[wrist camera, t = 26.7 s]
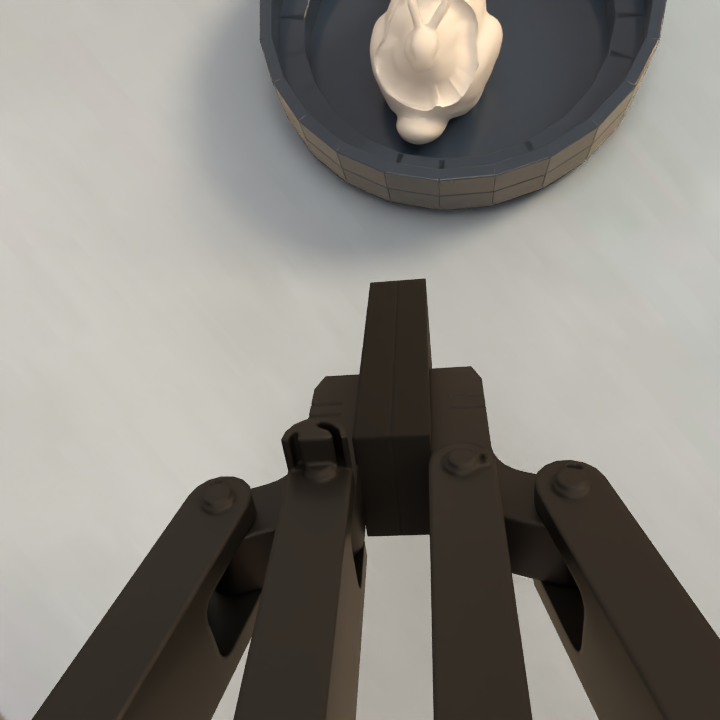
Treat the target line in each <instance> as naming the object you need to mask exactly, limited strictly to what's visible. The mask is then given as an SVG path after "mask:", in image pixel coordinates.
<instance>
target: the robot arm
mask: <svg viewBox="0 0 720 720" xmlns="http://www.w3.org/2000/svg"><path fill="white" fill-rule="evenodd" d="M281 441H282V446H283V450H284V454H285V459H286V463H287V467H288V474H287V475H286V476H285V477H283V478H281V479H279V480H278V481H275V482H272V483H269V484H266V485H263V486H259V487H256V488H252V489H250V486H249V485H248V484H247V483H246V482H245V481H244V480H242V479H239V478H236V477H218V478H215V479H211V480H208V481H206V482H205V483H203V484H201V485H199V486H198V487H197V488H196V489H195V490H194V491H193V492H192V493H191V494H190V495H189V496H188V498H187V499H186V500H185V502H184V503H183V505H182V506H181V508H180V509H179V510H178V512H177V513H176V515H175V516H174V517H173V519H172V520H171V522H170V523H169V525H168V526H167V527H166V529H165V530H164V532H163V533H162V535H161V536H160V537H159V539H158V540H157V542H156V543H155V545H154V546H153V547H152V549H151V550H150V552H149V553H148V555H147V556H146V557H145V559H144V560H143V562H142V563H141V565H140V566H139V567H138V569H137V570H136V572H135V573H134V575H133V576H132V577H131V579H130V580H129V582H128V583H127V585H126V586H125V587H124V589H123V590H122V592H121V593H120V595H119V596H118V597H117V599H116V600H115V602H114V603H113V604H112V606H111V607H110V609H109V610H108V612H107V613H106V614H105V616H104V617H103V619H102V620H101V622H100V623H99V624H98V626H97V627H96V629H95V630H94V632H93V633H92V634H91V636H90V637H89V639H88V640H87V642H86V643H85V644H84V646H83V647H82V649H81V650H80V652H79V653H78V654H77V656H76V657H75V659H74V660H73V662H72V663H71V664H70V666H69V667H68V669H67V670H66V672H65V673H64V674H63V676H62V677H61V679H60V680H59V682H58V683H57V684H56V686H55V687H54V689H53V690H52V691H51V693H50V694H49V696H48V697H47V699H46V700H45V701H44V703H43V704H42V706H41V707H40V709H39V710H38V711H37V713H36V714H35V716H34V717H33V719H32V720H211V719H212V717H213V715H214V713H215V711H216V708H217V706H218V704H219V702H220V700H221V698H222V696H223V694H224V692H225V690H226V688H227V686H228V684H229V682H230V680H231V678H232V676H233V674H234V672H235V670H236V667H237V665H238V663H239V661H240V659H241V657H242V655H243V653H244V651H245V649H246V647H247V645H248V643H249V641H250V639H251V643H250V647H249V652H248V656H247V661H246V665H245V670H244V674H243V679H242V683H241V688H240V692H239V697H238V701H237V706H236V710H235V715H234V719H233V720H356V707H357V692H358V678H359V664H360V650H361V636H362V622H363V608H364V593H365V579H366V565H367V553H366V547H365V541H364V538H365V526H366V529H367V535H368V536H398V535H430V558H431V608H432V658H433V707H434V720H532V713H531V706H530V699H529V692H528V685H527V678H526V671H525V664H524V656H523V649H522V642H521V635H520V628H519V621H518V614H517V607H516V600H515V593H514V586H513V579H512V573H513V574H517V575H521V576H525V577H529V578H533V581H534V585H535V587H536V589H537V591H538V593H539V596H540V598H541V600H542V602H543V604H544V606H545V608H546V610H547V612H548V614H549V616H550V618H551V621H552V623H553V625H554V627H555V629H556V631H557V633H558V635H559V637H560V639H561V641H562V643H563V646H564V648H565V650H566V652H567V654H568V656H569V658H570V660H571V662H572V664H573V666H574V669H575V671H576V673H577V675H578V677H579V679H580V681H581V683H582V685H583V687H584V689H585V691H586V694H587V696H588V698H589V700H590V702H591V704H592V706H593V708H594V710H595V712H596V714H597V717H598V719H599V720H720V639H719V637H718V636H717V635H716V633H715V632H714V630H713V629H712V628H711V626H710V625H709V623H708V622H707V620H706V619H705V618H704V616H703V615H702V613H701V612H700V611H699V609H698V608H697V606H696V605H695V603H694V602H693V601H692V599H691V598H690V596H689V595H688V593H687V592H686V591H685V589H684V588H683V586H682V585H681V584H680V582H679V581H678V579H677V578H676V576H675V575H674V574H673V572H672V571H671V569H670V568H669V567H668V565H667V564H666V562H665V561H664V559H663V558H662V557H661V555H660V554H659V552H658V551H657V550H656V548H655V547H654V545H653V544H652V542H651V541H650V540H649V538H648V537H647V535H646V534H645V533H644V531H643V530H642V528H641V527H640V525H639V524H638V523H637V521H636V520H635V518H634V517H633V516H632V514H631V513H630V511H629V510H628V508H627V507H626V506H625V504H624V503H623V501H622V500H621V499H620V497H619V496H618V494H617V493H616V491H615V490H614V489H613V487H612V486H611V484H610V483H609V482H608V480H607V479H606V477H605V476H604V475H603V474H602V473H601V472H600V471H599V470H597V469H596V468H594V467H592V466H590V465H588V464H586V463H584V462H578V461H573V460H564V461H555V462H553V463H550V464H547V465H545V466H544V467H543V468H542V469H541V470H540V471H538V472H537V474H533V473H527V472H523V471H519V470H516V469H513V468H511V467H509V466H507V465H505V464H504V463H502V462H501V461H500V460H498V458H497V457H496V456H495V454H494V453H493V450H492V447H491V441H490V434H489V427H488V420H487V413H486V407H485V399H484V392H483V385H482V378H481V377H480V376H479V375H478V374H477V373H476V371H475V370H474V369H473V368H472V367H471V366H469V367H452V368H435V369H432V360H431V346H430V333H429V319H428V306H427V292H426V279H414V280H400V281H387V282H374V283H370V290H369V299H368V307H367V316H366V324H365V332H364V341H363V349H362V357H361V366H360V374H359V375H343V376H326V377H325V378H324V379H323V380H322V381H321V382H320V384H319V385H318V386H317V387H316V388H315V389H314V394H313V399H312V406H311V409H310V413H309V418H308V419H307V420H304V421H301V422H299V423H297V424H294V425H293V426H292V427H291V428H290V429H288V430H287V431H286V432H285V434H284V436H283V437H282V439H281ZM251 637H252V638H251Z"/></svg>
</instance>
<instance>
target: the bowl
mask: <svg viewBox="0 0 720 720" xmlns="http://www.w3.org/2000/svg"><path fill="white" fill-rule="evenodd" d="M666 1H667V0H486V11H487V12H488V13H489V14H490V15H491V16H493V17H494V18H496V19H497V20H498V21H499V23H500V25H501V28H502V32H503V39H502V43H501V48H500V52H499V55H498V57H497V59H496V62H495V64H494V67H493V70H492V72H491V75H490V77H489V79H488V81H487V82H486V84H485V87H484V90H483V93H482V95H481V97H480V99H479V101H478V102H477V104H476V105H475V106H474V107H473V108H472V109H471V110H470V111H468V112H467V113H466V114H464V115H461V116H458V117H454V118H452V119H450V120H449V121H448V123H447V126H446V128H445V130H444V131H443V133H442V134H441V135H440V136H439V137H438V138H437V139H435V140H434V141H432V142H430V143H427V144H420V145H417V144H412V143H409V142H407V141H405V140H404V139H403V138H402V137H401V136H400V135H399V133H398V131H397V128H396V123H397V118H398V117H397V115H396V114H395V113H394V112H393V111H392V110H391V109H390V107H389V106H388V104H387V102H386V100H385V98H384V96H383V95H382V93H381V90H380V87H379V85H378V83H377V81H376V79H375V76H374V74H373V70H372V65H371V58H370V42H371V37H372V32H373V28H374V25H375V23H376V21H377V20H378V19H379V18H380V17H381V16H382V15H383V14H384V13H385V12H386V11H387V10H388V7H389V4H390V2H391V0H260V43H261V46H262V49H263V53H264V56H265V59H266V62H267V66H268V69H269V72H270V76H271V79H272V82H273V85H274V87H275V89H276V91H277V94H278V96H279V98H280V100H281V103H282V105H283V107H284V110H285V112H286V114H287V117H288V118H289V120H290V122H291V123H292V125H293V126H294V128H295V129H296V130H297V132H298V133H299V135H300V136H301V138H302V139H303V141H304V142H305V144H306V145H307V147H308V148H309V150H310V151H311V152H312V153H313V155H314V156H315V157H317V158H318V159H319V160H320V161H321V162H323V163H324V164H325V165H326V166H327V167H329V168H330V169H331V170H332V171H334V172H335V173H336V174H337V175H338V176H340V177H341V178H342V179H343V180H344V181H346V182H348V183H349V184H352V185H354V186H356V187H358V188H361V189H363V190H365V191H367V192H370V193H372V194H374V195H376V196H379V197H381V198H383V199H385V200H388V201H392V202H396V203H402V204H408V205H414V206H420V207H426V208H433V209H441V210H446V209H458V208H470V207H482V206H491V205H495V204H498V203H501V202H504V201H507V200H509V199H512V198H515V197H518V196H521V195H524V194H527V193H530V192H533V191H536V190H539V189H541V188H544V187H546V186H547V185H549V184H550V183H552V182H554V181H555V180H557V179H558V178H560V177H561V176H563V175H565V174H566V173H568V172H569V171H571V170H572V169H574V168H575V167H577V166H579V165H580V164H582V163H583V162H585V160H587V159H588V158H589V157H590V156H591V155H592V154H593V152H594V151H595V150H596V149H597V148H598V147H599V146H600V145H601V144H602V143H603V142H604V141H605V139H606V138H607V137H608V136H609V135H610V134H611V133H612V132H613V131H614V130H615V129H616V128H617V127H618V125H619V124H620V122H621V121H622V119H623V117H624V115H625V113H626V111H627V109H628V107H629V105H630V103H631V101H632V99H633V97H634V95H635V93H636V91H637V90H638V88H639V86H640V84H641V82H642V79H643V77H644V75H645V72H646V70H647V68H648V66H649V63H650V61H651V59H652V56H653V54H654V52H655V50H656V47H657V45H658V43H659V40H660V35H661V30H662V24H663V18H664V13H665V7H666Z"/></svg>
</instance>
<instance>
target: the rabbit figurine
mask: <svg viewBox="0 0 720 720" xmlns="http://www.w3.org/2000/svg"><path fill="white" fill-rule="evenodd" d="M502 39H503V32H502V28H501V25H500V23H499V21H498V20H497V19H496V18H494V17H493V16H491V15H490V14H489V13H488V12H487V11H486V0H391V2H390V4H389V7H388V10H387V11H386V12H385V13H384V14H383V15H382V16H381V17H380V18H379V19H378V20H377V21H376V23H375V25H374V28H373V32H372V37H371V42H370V58H371V65H372V70H373V74H374V76H375V79H376V81H377V83H378V85H379V87H380V90H381V93H382V95H383V96H384V98H385V100H386V102H387V104H388V106H389V107H390V109H391V110H392V111H393V112H394V113H395V114H396V115H397V117H398V118H397V123H396V128H397V131H398V133H399V135H400V136H401V137H402V138H403V139H404V140H405V141H407V142H409V143H412V144H417V145H420V144H427V143H430V142H432V141H434V140H435V139H437V138H438V137H439V136H440V135H441V134H442V133H443V131H444V130H445V128H446V126H447V123H448V121H449V120H450V119H452V118H454V117H458V116H461V115H464V114H466V113H467V112H468V111H470V110H471V109H472V108H473V107H474V106H475V105H476V104H477V102H478V101H479V99H480V97H481V95H482V93H483V90H484V87H485V84H486V82H487V81H488V79H489V77H490V75H491V72H492V70H493V67H494V64H495V62H496V59H497V57H498V55H499V52H500V48H501V43H502Z"/></svg>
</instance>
